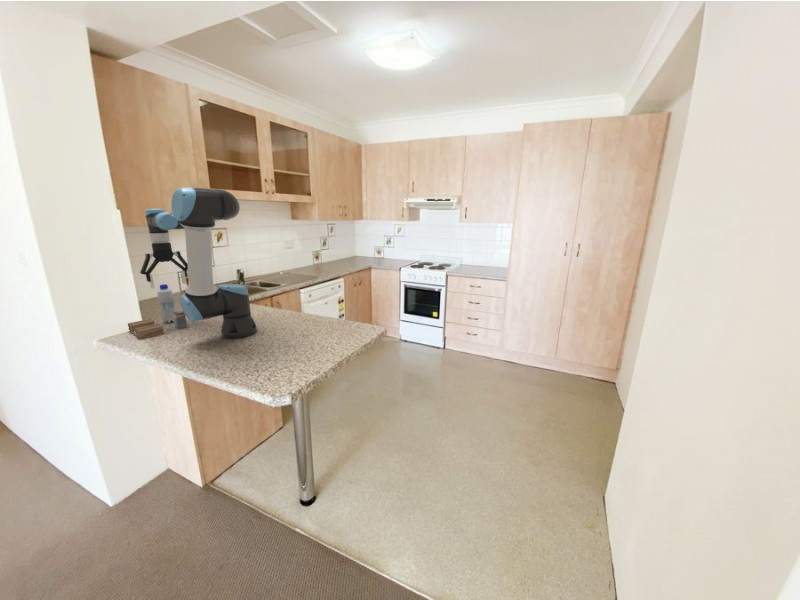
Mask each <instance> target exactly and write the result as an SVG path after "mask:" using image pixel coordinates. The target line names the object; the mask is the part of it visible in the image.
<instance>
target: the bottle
mask: <svg viewBox="0 0 800 600" xmlns="http://www.w3.org/2000/svg"><path fill="white" fill-rule="evenodd" d="M157 299H158V302H159V307H160V310H161V318H162V321H163V322H164V323H165V324H167V323H169V324H171V322H172V323H174V319H173V313H172V312H177V311H176V307H175V301H174V293H173V291H172V289H170V288H169V285H168V284H167V283H165V284H164V283H163V284H160V285H159V290H158V291H157Z"/></svg>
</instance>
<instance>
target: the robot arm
mask: <svg viewBox="0 0 800 600" xmlns="http://www.w3.org/2000/svg"><path fill="white" fill-rule="evenodd" d="M170 202H171V205H170V206H171V207H170V208H171V212H168V211H167V212H166V211H165V210H164V209H163V208H145V210H144V212H145V213H144V214H145V219H146V224H147V228H148V234H149V238H150V242H151V248H152V253H145V257H144V261H143V264H142V266H141V269H140V271H139V272H140V275H141V274H142V275H145V278H146V281H147V282H148V283H149V284H150V288H151V289H152V290H153V289H155V288H156V286H155V283H154V277H153V274H151V273H152V272H153V271H154V270H155V268H156V266H157V265H158V264H159V263H164V262H166V263H167V262H172V263H173V264H174V265H176V267H178V268H179V269H180V275H181V279H182V280H181V281H182V284H184V285H185V284H186V285H187V279H186V278H187V277H188V285H187V287H185V289H184V293H185V294H182V295H181V296H180V297H179V302H180V307H181V310H182V311H183V312H184V313H185V317H186V319H188V320H189V321H190V322H199V321H205V320H208V319H212V318H216V317H220V316H222V320H223V321H222V324H221V329H220V334H221V337H222V338H224V339H242V338H246V337H249V336H252V335H254V334H257V332H258V329H257V328H258V326H257V324H256V322H255V320H254V318H253V316H252V312H251V305H250V295H249V290H248V287H247V286H246V285H243V284H237V283H236V284H235V283H229V284H228V283H225V284H219V285H218V287H217V286H215V285H214V275H213V274H214V273H213V269H214V268H213V256H212V255H213V252H212V251H213V250H212V229H213V228H215V226H216V223H217V222H219V221H221V220H222V221H228V220H231V219H234V218H236V217H237V216H238V214H239V213H240V210H241V208H240V206H241V205H240V203H239V200H238V199H237V197H236V196H235V195H233V194H232V193H231V192H229V191H227V190H225V189H219V188H205V187H203V188H202V187H191V186H189V187H178V188H177V189H175V190H174V191H173V194H172V196H171V201H170ZM171 230H174V231H175V230H184V238H185V251H186V260H185V258H184V257H183V256H182V254H181V252H180V251H179V250H178V251H177V250H176V251H174V252H173V249H172V244H171V242H170V241H171V239H170V232H169V231H171ZM174 256H176V257H177V259H178V260H179V261H180V262H181V263H182V264H181V263H180V262H179V261H177V260H176V259H175V258H173V257H174ZM152 258H154V260H153V262H152V263H151V264H150V261H151V259H152ZM149 264H150V266H149ZM148 266H149V267H148Z"/></svg>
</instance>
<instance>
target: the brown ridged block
mask: <svg viewBox="0 0 800 600" xmlns="http://www.w3.org/2000/svg"><path fill="white" fill-rule="evenodd" d="M127 323H128V324H127V327H129V328H128V331H129V330H130V331H129V333H130V334H132V335H133V336H135V337H137V339H138V340H145V339H150V338H154V337H158V336H162V335H164V334H165V331H164V328H163V325H161V324H160V323H155V321H154V319H151V318H147V319H142V320H138V321H133V322H132V321H131V322H127ZM153 336H154V337H153Z"/></svg>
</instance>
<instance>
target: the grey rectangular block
mask: <svg viewBox="0 0 800 600" xmlns="http://www.w3.org/2000/svg"><path fill="white" fill-rule="evenodd" d="M172 313H173V319H174V322H173V323H174V328H175V329H177V330H182V329H185V328H188V323H187V317H186V315H185V313H184V312H183V310H178V311H176V312H172Z"/></svg>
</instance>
